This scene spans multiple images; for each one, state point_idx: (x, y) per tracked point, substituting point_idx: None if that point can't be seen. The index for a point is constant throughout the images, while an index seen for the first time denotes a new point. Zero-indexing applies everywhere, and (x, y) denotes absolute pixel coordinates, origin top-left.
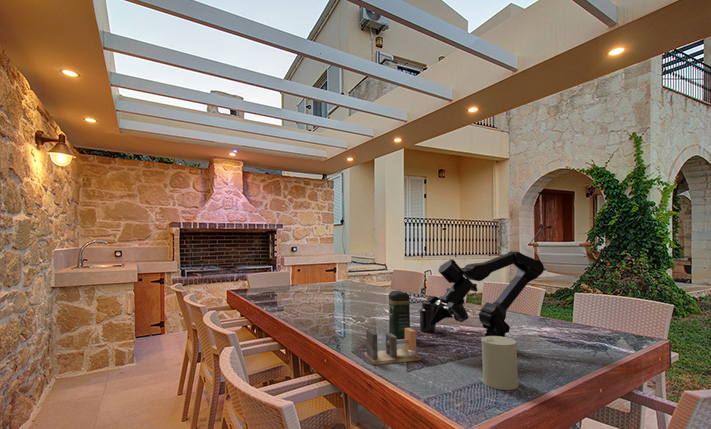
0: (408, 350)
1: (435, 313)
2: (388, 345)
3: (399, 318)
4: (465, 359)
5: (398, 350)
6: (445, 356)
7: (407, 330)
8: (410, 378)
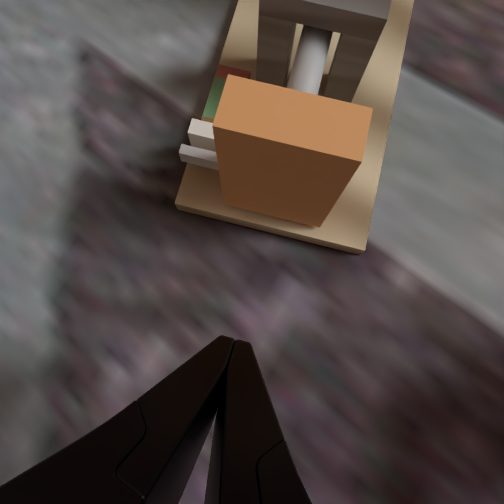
0: None
1: (126, 423)
2: (337, 45)
3: None
4: None
5: None
6: None
7: (296, 95)
8: (9, 10)
